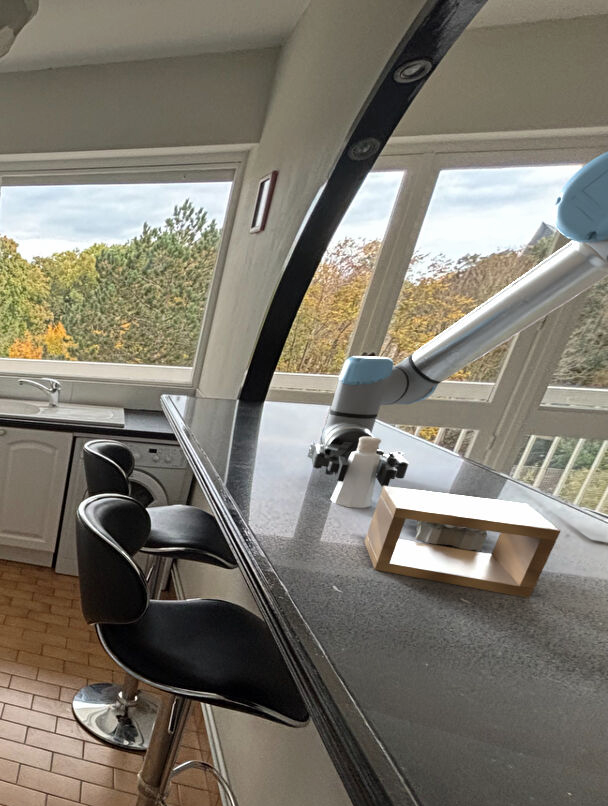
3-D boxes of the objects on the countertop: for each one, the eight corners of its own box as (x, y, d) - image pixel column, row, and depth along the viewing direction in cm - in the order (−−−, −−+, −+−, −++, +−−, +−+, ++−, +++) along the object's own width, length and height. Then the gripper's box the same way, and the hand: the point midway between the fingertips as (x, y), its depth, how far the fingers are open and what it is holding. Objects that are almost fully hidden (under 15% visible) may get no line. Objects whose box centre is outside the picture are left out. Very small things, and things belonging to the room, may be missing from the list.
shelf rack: (500, 564, 75) (527, 503, 72) (529, 598, 66) (561, 530, 63) (364, 542, 82) (383, 485, 79) (374, 570, 73) (396, 507, 70)
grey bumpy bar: (415, 522, 90) (424, 496, 88) (482, 534, 85) (493, 508, 83) (409, 540, 83) (419, 512, 81) (482, 555, 78) (494, 526, 76)
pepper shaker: (322, 498, 100) (341, 434, 96) (351, 497, 101) (371, 434, 97) (348, 509, 95) (369, 441, 91) (378, 508, 96) (401, 441, 92)
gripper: (404, 474, 107) (430, 508, 89) (288, 460, 116) (290, 489, 97) (418, 433, 104) (449, 460, 86) (298, 422, 113) (302, 444, 95)
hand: (364, 475), depth 92 cm, fingers open, 5 cm apart
